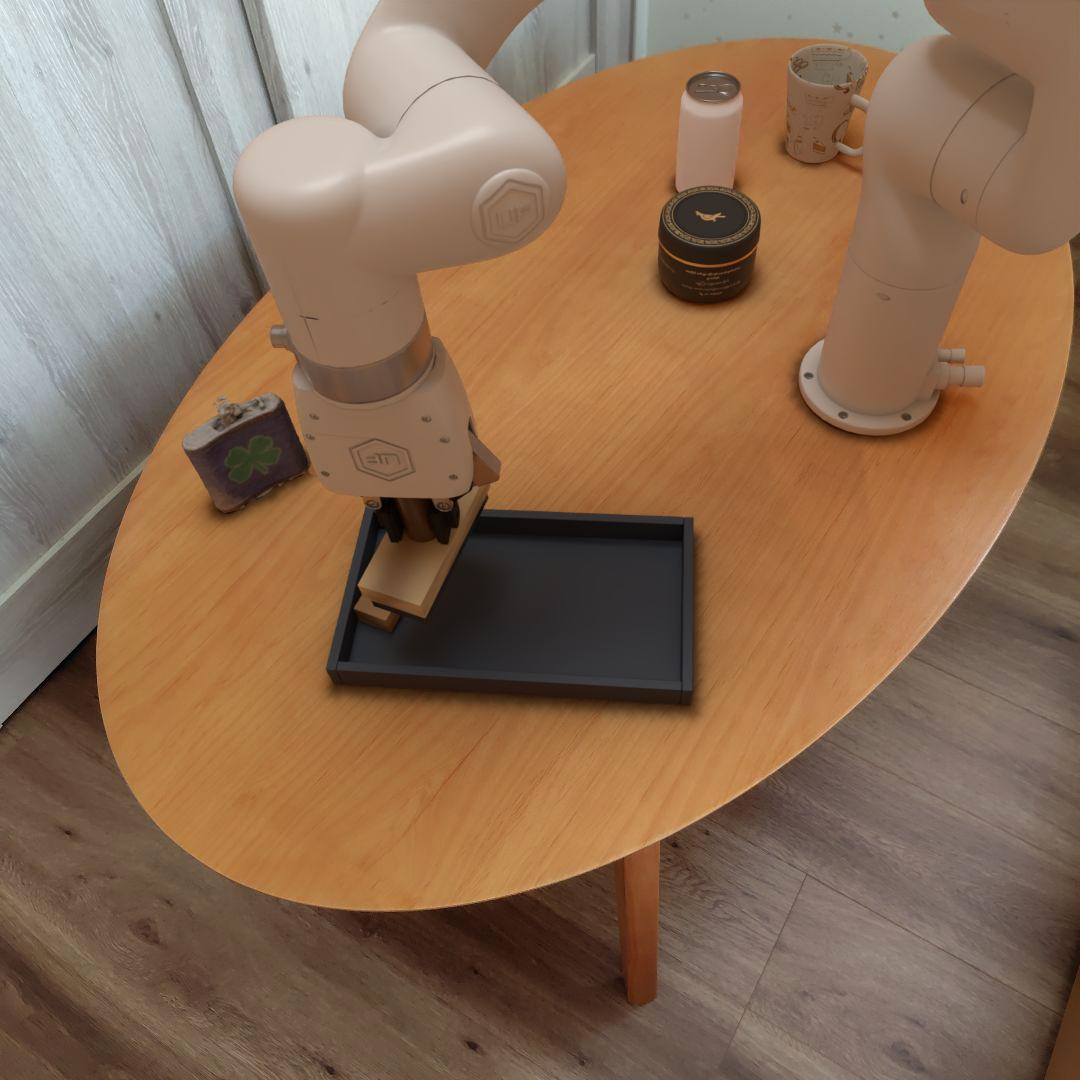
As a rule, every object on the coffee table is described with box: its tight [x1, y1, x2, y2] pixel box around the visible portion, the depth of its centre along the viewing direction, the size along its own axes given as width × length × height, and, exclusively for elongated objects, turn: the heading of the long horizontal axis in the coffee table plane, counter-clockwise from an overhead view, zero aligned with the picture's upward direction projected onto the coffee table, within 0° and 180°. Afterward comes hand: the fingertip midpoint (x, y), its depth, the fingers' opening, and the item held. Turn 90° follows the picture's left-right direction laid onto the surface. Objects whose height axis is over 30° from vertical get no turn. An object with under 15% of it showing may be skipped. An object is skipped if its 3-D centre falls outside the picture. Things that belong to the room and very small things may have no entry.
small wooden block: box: [354, 595, 401, 632], centre depth 76 cm, size 3×3×2 cm
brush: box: [358, 483, 492, 624], centre depth 68 cm, size 5×12×10 cm, turn 158°
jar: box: [657, 186, 762, 305], centre depth 95 cm, size 10×10×8 cm
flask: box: [181, 392, 310, 514], centre depth 82 cm, size 9×3×11 cm, turn 125°
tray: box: [325, 505, 695, 707], centre depth 76 cm, size 28×16×3 cm, turn 85°
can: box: [675, 70, 744, 193], centre depth 101 cm, size 6×6×12 cm
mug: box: [785, 43, 870, 164], centre depth 104 cm, size 8×13×10 cm, turn 43°
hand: (422, 525), depth 68 cm, fingers closed on brush, 2 cm apart
